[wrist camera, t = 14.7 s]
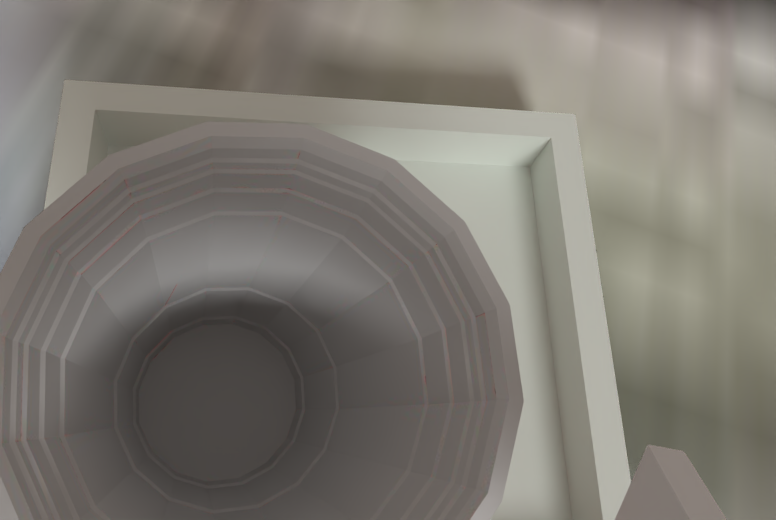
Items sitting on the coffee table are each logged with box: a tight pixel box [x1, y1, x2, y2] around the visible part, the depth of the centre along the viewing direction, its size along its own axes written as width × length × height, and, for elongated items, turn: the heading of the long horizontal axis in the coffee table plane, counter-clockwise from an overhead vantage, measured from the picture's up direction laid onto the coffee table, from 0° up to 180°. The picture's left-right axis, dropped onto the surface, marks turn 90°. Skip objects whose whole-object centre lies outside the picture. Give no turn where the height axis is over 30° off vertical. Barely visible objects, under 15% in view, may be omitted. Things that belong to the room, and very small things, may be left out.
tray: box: [44, 80, 631, 520], centre depth 26 cm, size 20×20×4 cm
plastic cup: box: [0, 121, 524, 520], centre depth 19 cm, size 11×11×12 cm
